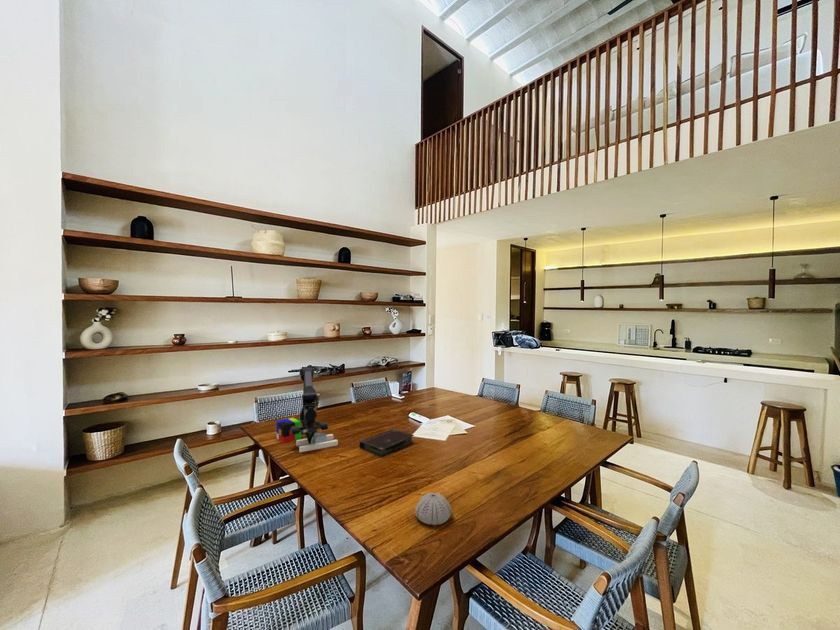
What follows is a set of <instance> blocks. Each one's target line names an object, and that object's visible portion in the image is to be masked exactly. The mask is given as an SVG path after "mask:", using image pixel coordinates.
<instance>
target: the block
mask: <svg viewBox="0 0 840 630" xmlns="http://www.w3.org/2000/svg"><path fill="white" fill-rule="evenodd" d="M327 435H328V434H326V433H325V432H324V431H323V432H322V431H321V432H316V433H315V434H314V435H313V443H312V444H315V443H321V442H326V441H328V440H327Z"/></svg>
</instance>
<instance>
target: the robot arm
mask: <svg viewBox="0 0 840 630" xmlns="http://www.w3.org/2000/svg"><path fill="white" fill-rule="evenodd" d="M314 375H315V367H312V366H301V368H300V369H299V376H300V378H301V380H302V382H303V387H302V388H303V394H302V395H301V401H302V403H301V404H302V407H300V413H299V416H298V417H299V419H298V420H299V421H301V427H299V426H292V427H291V433H292V434H293V435H294V434H299V433H300V431H301V435H305V437H306V438H307V440H308V443H309V444H308V445H310V443H311V440H312V437H313V435H314V434H317V433H318V430H319V429H320V430H322V431H325V430H329V429H328V428H329V425H328V423H327V422H326V421H316V419H317V415H318V413H317V411H316V407H317V406H318V404H319V395H318V393H316V389H315V388H314V387H313V386H314V385H313V378H314ZM311 444H312V443H311Z"/></svg>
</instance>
